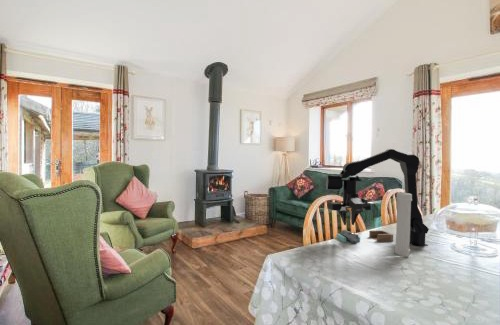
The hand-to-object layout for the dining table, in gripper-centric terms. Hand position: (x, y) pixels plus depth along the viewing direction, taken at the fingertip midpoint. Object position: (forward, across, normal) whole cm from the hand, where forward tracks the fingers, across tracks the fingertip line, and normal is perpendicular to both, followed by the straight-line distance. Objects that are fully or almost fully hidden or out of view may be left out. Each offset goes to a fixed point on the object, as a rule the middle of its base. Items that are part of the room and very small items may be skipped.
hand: (348, 224), depth 130 cm
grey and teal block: (+7, 0, -2) cm, 7 cm away
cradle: (+7, 0, 0) cm, 7 cm away
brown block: (+7, +15, 0) cm, 17 cm away
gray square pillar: (+8, +12, -19) cm, 24 cm away
